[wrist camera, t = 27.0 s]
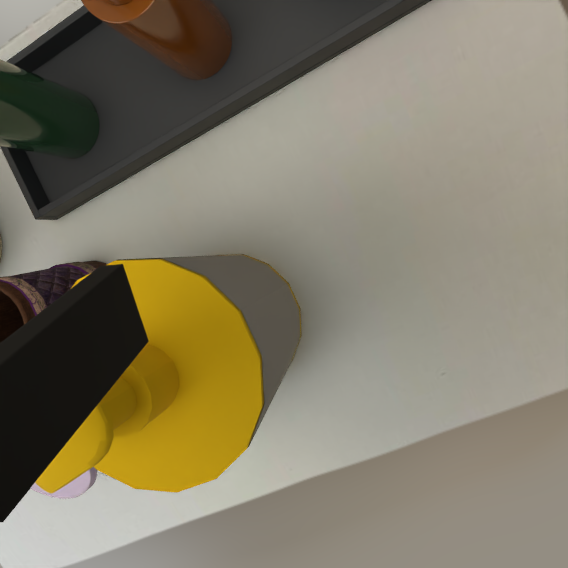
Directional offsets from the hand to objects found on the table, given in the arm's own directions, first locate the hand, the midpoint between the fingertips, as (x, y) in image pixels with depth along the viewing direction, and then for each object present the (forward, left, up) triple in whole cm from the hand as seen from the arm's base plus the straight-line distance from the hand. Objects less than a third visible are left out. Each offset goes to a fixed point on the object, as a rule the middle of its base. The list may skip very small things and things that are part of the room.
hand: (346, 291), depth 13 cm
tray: (+14, -16, -24) cm, 32 cm away
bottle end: (+26, -10, -23) cm, 36 cm away
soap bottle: (+11, +7, -24) cm, 27 cm away
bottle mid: (+14, -16, -23) cm, 31 cm away
